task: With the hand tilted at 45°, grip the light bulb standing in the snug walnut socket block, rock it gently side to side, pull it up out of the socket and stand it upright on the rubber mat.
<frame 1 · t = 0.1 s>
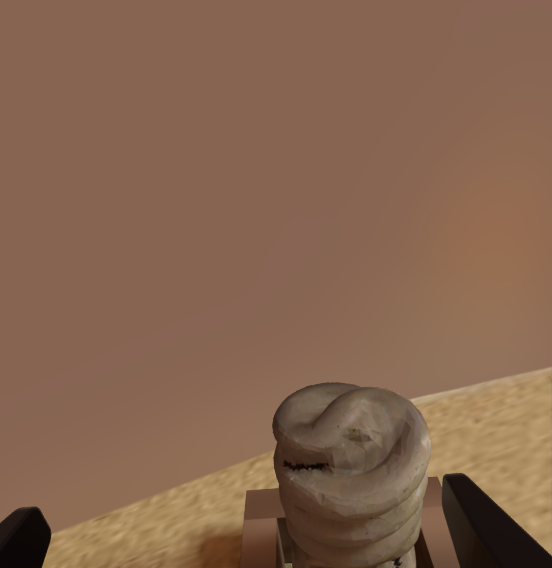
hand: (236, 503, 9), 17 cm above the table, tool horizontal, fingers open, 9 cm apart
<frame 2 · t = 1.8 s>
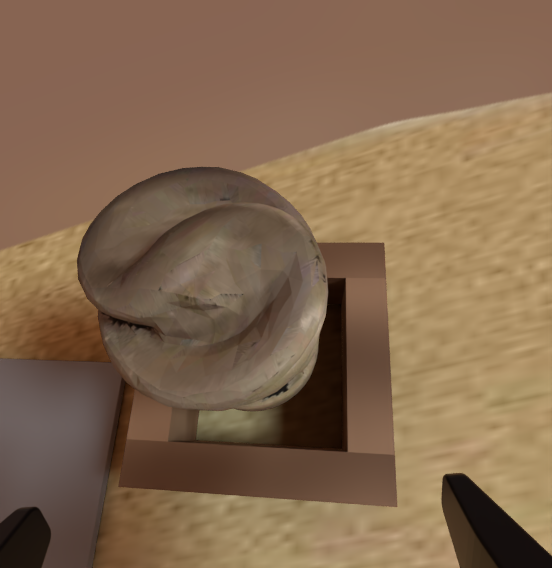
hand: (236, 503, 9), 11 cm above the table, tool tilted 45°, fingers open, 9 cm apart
light bulb: (271, 370, 21), resting in socket block
socket block: (271, 369, 21), on the table
rubber mat: (20, 456, 21), on the table
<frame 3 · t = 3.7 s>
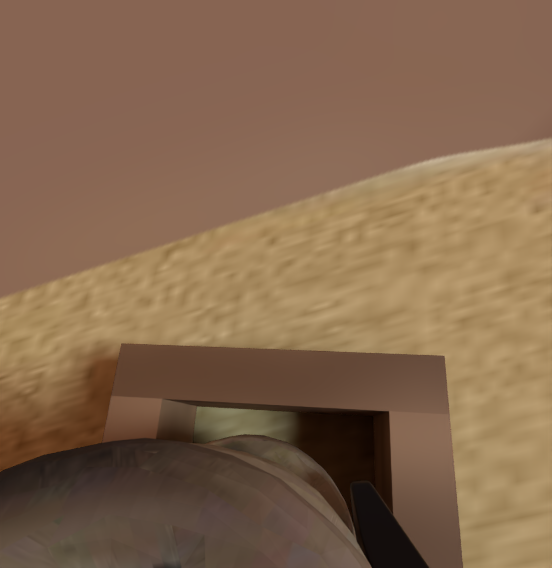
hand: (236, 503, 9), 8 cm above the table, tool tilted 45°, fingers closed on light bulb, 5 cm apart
light bulb: (278, 510, 15), resting in socket block, touching gripper
socket block: (277, 511, 15), on the table
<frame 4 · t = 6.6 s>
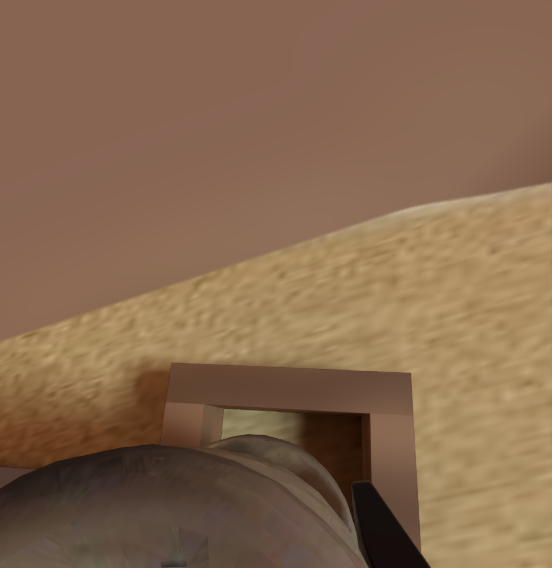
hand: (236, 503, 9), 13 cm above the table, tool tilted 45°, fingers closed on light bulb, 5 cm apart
light bulb: (281, 507, 16), point 5 cm above the table, touching gripper
socket block: (288, 489, 20), on the table
when the fingers open (9 cm above the table, at t = 9.6 s): light bulb stays where it is, resting on rubber mat.
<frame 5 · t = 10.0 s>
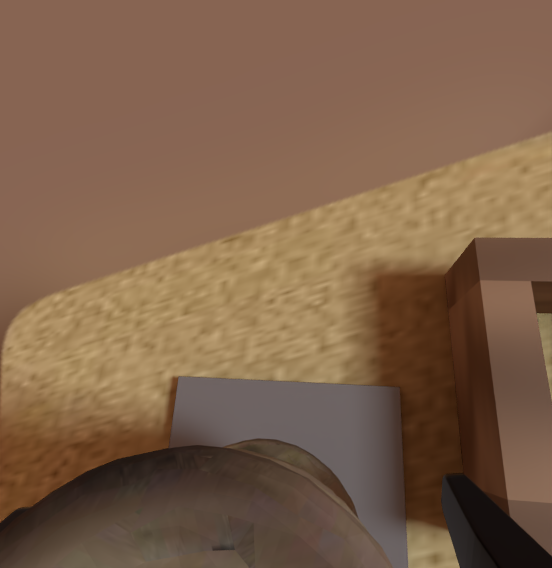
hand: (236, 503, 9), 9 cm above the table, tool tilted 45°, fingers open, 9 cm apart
light bulb: (285, 509, 16), resting on rubber mat
rubber mat: (280, 504, 17), on the table
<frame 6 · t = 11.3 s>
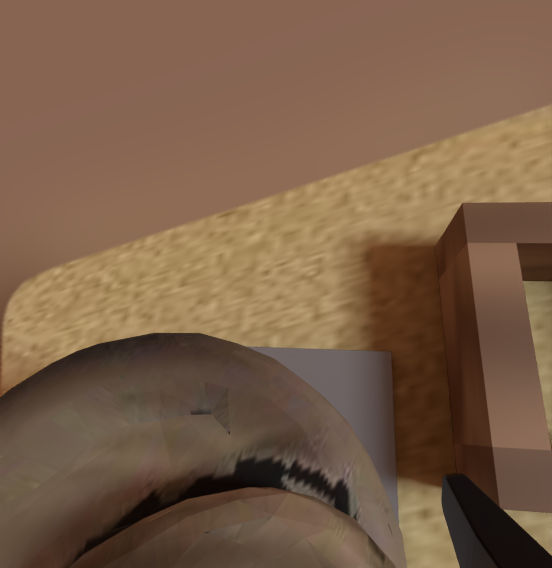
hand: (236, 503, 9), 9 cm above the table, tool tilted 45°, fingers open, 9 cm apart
light bulb: (279, 469, 17), resting on rubber mat
rubber mat: (275, 465, 17), on the table
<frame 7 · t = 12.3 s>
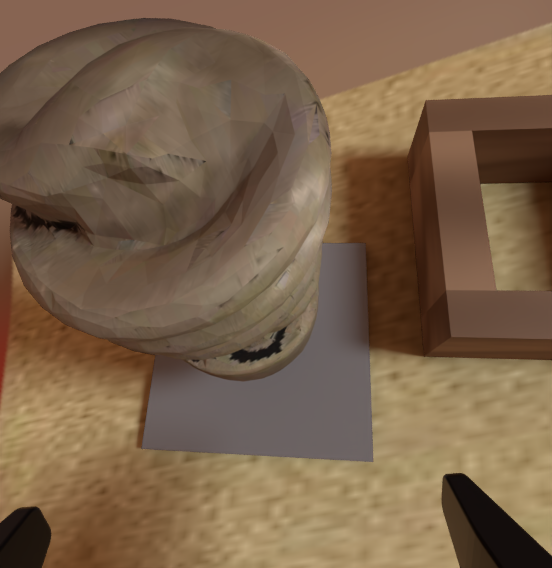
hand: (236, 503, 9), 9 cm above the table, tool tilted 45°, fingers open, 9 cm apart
light bulb: (265, 343, 19), resting on rubber mat
socket block: (531, 246, 19), on the table
rubber mat: (261, 341, 19), on the table
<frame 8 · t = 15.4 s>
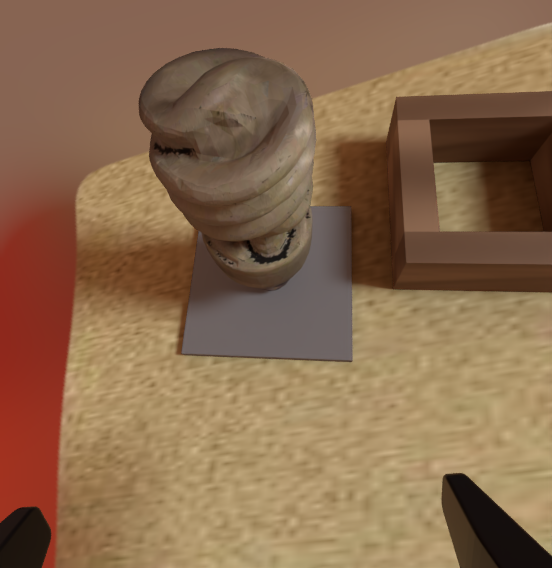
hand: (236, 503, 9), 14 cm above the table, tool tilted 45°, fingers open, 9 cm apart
light bulb: (274, 279, 25), resting on rubber mat
socket block: (477, 209, 25), on the table
rubber mat: (271, 279, 25), on the table
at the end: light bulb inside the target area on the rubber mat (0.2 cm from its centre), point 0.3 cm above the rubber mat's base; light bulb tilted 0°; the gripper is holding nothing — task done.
